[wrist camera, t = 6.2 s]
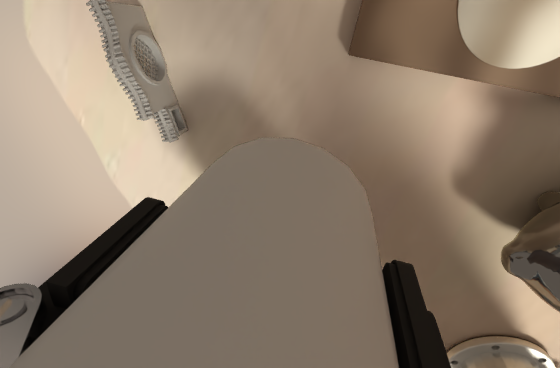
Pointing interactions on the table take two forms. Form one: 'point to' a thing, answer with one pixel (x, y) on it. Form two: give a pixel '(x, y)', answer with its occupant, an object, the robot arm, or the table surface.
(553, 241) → the piggy bank
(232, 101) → the table surface
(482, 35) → the board
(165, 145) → the table surface
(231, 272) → the can
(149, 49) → the lattice window wall
